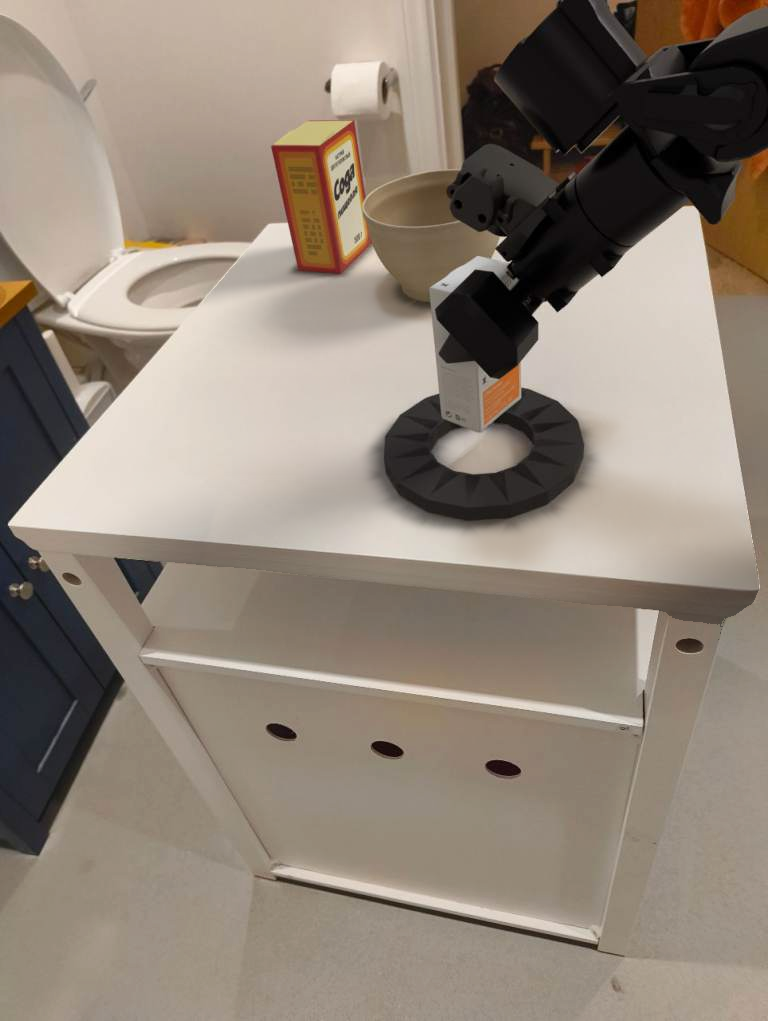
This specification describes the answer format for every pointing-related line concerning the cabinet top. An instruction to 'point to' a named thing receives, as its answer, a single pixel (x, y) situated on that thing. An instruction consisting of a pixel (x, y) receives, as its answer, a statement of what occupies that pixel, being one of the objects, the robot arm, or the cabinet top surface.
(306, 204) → the baking soda box
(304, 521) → the cabinet top surface
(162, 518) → the cabinet top surface
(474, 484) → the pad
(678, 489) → the cabinet top surface
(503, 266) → the cosmetic box
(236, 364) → the cabinet top surface
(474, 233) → the planter bowl
